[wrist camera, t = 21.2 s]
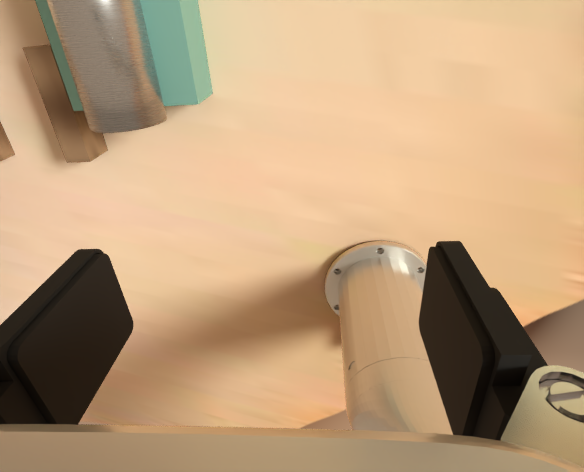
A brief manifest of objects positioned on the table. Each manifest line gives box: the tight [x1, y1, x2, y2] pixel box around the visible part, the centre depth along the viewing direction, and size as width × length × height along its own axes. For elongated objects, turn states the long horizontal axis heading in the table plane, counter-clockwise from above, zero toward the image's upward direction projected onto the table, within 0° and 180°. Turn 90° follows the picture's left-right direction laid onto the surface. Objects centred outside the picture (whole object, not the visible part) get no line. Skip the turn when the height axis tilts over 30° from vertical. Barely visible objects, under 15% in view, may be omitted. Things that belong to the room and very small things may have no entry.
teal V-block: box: [35, 0, 213, 111], centre depth 30 cm, size 14×11×5 cm
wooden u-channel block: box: [0, 45, 108, 162], centre depth 36 cm, size 10×13×4 cm
